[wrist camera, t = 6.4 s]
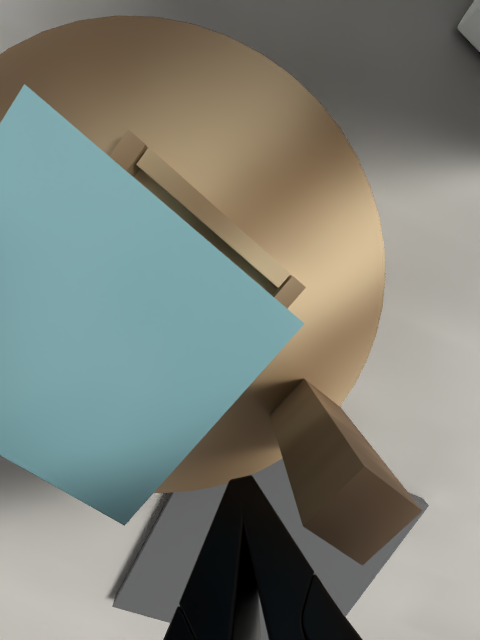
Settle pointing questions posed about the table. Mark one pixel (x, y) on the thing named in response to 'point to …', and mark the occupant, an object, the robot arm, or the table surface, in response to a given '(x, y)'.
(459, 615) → the table surface
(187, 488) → the turntable
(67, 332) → the blue cube with post
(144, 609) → the mat
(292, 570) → the robot arm
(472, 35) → the milk carton
